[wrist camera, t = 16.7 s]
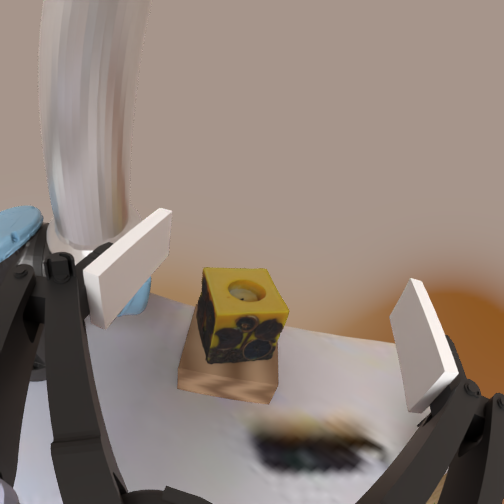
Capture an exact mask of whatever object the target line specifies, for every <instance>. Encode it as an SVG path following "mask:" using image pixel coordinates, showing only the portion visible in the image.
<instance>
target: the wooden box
mask: <svg viewBox="0 0 504 504" xmlns="http://www.w3.org/2000/svg"><path fill="white" fill-rule="evenodd" d="M197 306H198V305H196V307H195V310H194V314H193V317H192V321H191V324H190V328H189V331H188V335H187V338H186V342H185V345H184V349H183V352H182V356H181V360H180V363H179V367H178V386H177V389H181V390H185V391H190V392H195V393H200V394H205V395H210V396H216V397H221V398H227V399H233V400H240V401H247V402H254V403H261V404H269V403H270V401H271V399H272V397H273V395H274V393H275V391H276V389H277V387H278V343H276V349H275V351H274V353H273V357H272V358H271V359H269V360H256V361H246V362H238V363H231V362H230V363H222V364H219V363H213V364H208V363H207V361H206V360H205V359H206V355H205V352H204V348H203V347H202V343H201V341H202V340H201V338H200V334H199V330H198V324H197V319H196V314H197V308H198V307H197Z"/></svg>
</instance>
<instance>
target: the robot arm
mask: <svg viewBox="0 0 504 504" xmlns="http://www.w3.org/2000/svg"><path fill="white" fill-rule="evenodd" d="M151 4H152V0H43V7H42V15H41V25H40V38H39V56H38V94H39V95H38V96H39V115H40V129H41V139H42V149H43V157H44V164H45V171H46V177H47V183H48V189H49V194H50V200H51V205H52V210H53V214H54V216H53V217H52V219H51V221H50V223H43V216H42V215H41V212H40V210H39V209H37V208H35V207H33V206H18V207H14V208H10V209H7V210H4V211H1V212H0V504H20V503H19V499H18V496H17V494H16V492H15V491H14V489H13V486H14V481H15V477H16V471H17V463H18V452H19V442H20V434H21V426H22V419H23V413H24V407H25V401H26V396H27V391H28V386H29V381H43V380H47V391H48V401H49V410H50V417H51V424H52V430H53V437H54V441H53V442H52V443H51V455H52V460H53V465H54V470H55V474H56V478H57V482H58V486H59V490H60V494H61V497H62V501H63V504H212V503H210V502H208V501H207V500H205V499H203V498H201V497H198V496H195V495H192V494H189V493H186V492H183V491H180V490H177V489H174V488H171V487H169V486H166V488H165V490H164V491H161V490H139V491H133V492H129V493H128V490H127V488H126V485H125V483H124V480H123V478H122V475H121V473H120V471H119V468H118V466H117V463H116V460H115V457H114V454H113V451H112V448H111V444H110V441H109V438H108V434H107V431H106V427H105V423H104V419H103V416H102V412H101V408H100V403H99V399H98V395H97V390H96V386H95V381H94V376H93V371H92V365H91V359H90V354H89V347H88V341H87V334H86V326H85V321H84V319H85V318H86V317H87V316H88V314H90V319H91V324H93V325H96V326H98V327H100V328H102V329H104V330H106V329H107V328H108V327H109V325H110V324H111V323H112V322H113V320H114V319H115V318H116V317H120V316H122V315H137V314H140V313H141V312H143V311H144V309H145V308H146V306H147V303H148V299H149V293H150V287H151V275H152V274H153V273H154V272H155V270H156V269H157V268H158V267H159V266H160V265H161V263H162V262H163V261H164V260H165V259H166V258H167V257H168V255H169V245H170V233H171V221H172V211H170V210H166V209H162V208H159V209H158V210H156V211H155V212H154V213H153V214H151V215H150V216H148V217H147V218H146V219H144V220H143V221H142V219H141V216H140V214H139V212H138V211H137V210H136V208H135V207H133V206H132V205H131V204H130V174H131V150H132V136H133V123H134V111H135V101H136V92H137V84H138V77H139V69H140V63H141V56H142V50H143V44H144V39H145V33H146V28H147V23H148V18H149V13H150V8H151ZM390 322H391V326H392V330H393V334H394V339H395V344H396V348H397V353H398V358H399V363H400V368H401V373H402V378H403V384H404V390H405V396H406V402H407V409H408V412H413V413H422V412H423V411H425V410H426V408H427V407H428V406H429V405H430V409H431V413H430V414H429V415H428V416H427V417H426V418H425V419H423V420H422V421H421V422H420V423H419V424H418V425H417V426H418V427H419V426H420V427H419V428H418V430H417V431H416V432H415V434H414V435H413V437H412V438H411V439H410V441H409V442H408V443H407V445H406V446H405V447H404V449H403V450H402V451H401V453H400V454H399V455H398V456H397V458H396V459H395V460H394V461H393V463H392V464H391V465H390V466H389V467H388V469H387V470H386V471H385V472H384V473H383V474H382V476H381V477H380V478H379V479H378V480H377V481H376V482H375V483H374V485H373V486H372V487H371V488H370V489H369V490H368V491H367V492H366V493H365V494H364V495H363V496H362V497H361V498H360V499H359V500H358V501H357V502H356V503H355V504H426V503H427V501H428V500H429V498H430V497H431V495H432V494H433V492H434V490H435V489H436V487H437V486H438V484H439V482H440V481H441V479H442V477H443V476H444V474H445V472H446V470H447V469H448V467H449V469H448V472H447V475H446V479H445V482H444V485H443V488H442V491H441V494H440V497H439V500H438V503H437V504H502V500H503V496H504V395H503V394H501V393H496V394H495V395H494V396H493V397H492V398H491V399H488V398H486V397H484V396H481V392H480V389H479V387H478V386H477V384H476V383H475V382H473V381H472V380H470V379H467V378H466V376H465V372H464V370H463V367H462V364H461V361H460V359H459V356H458V354H457V353H456V352H457V351H456V348H455V346H454V343H453V342H452V340H451V339H450V338H449V336H448V335H445V334H444V332H443V329H442V327H441V324H440V322H439V319H438V317H437V314H436V312H435V310H434V307H433V305H432V303H431V301H430V299H429V296H428V294H427V292H426V290H425V288H424V286H423V283H422V281H419V280H415V279H412V278H410V280H409V282H408V284H407V286H406V287H405V289H404V291H403V293H402V295H401V297H400V299H399V300H398V302H397V304H396V306H395V308H394V309H393V311H392V313H391V315H390Z"/></svg>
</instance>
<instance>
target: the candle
mask: <svg viewBox="0 0 504 504" xmlns="http://www.w3.org/2000/svg"><path fill="white" fill-rule="evenodd" d="M197 307H198V308H197V314H196V319H197V324H198V330H199V334H200V338H201V340H202V341H201V343H202V347H203V348H204V352H205V355H206V359H205V360H206V361H207V363H208V364H213V363H219V364H222V363H230V362H231V363H238V362H246V361H256V360H269V359H271V358H272V357H273V353H274V351H275V349H276V343H277V341H278V338H279V336H280V333H281V332H282V330H283V328H284V325H285V323H286V320H287V318H288V314H289V309H288V307H287V305H286V304H285V302H284V300H283V299H282V297H281V296H280V294H279V292H278V290H277V289H276V287H275V285H274V283H273V281H272V279H271V277H270V275H269V273H268V271H267V269H263V268H259V269H246V268H242V269H241V268H240V269H238V268H236V269H235V268H209V267H206V268H204V269H203V277H202V292H201V295H200V297H199V300H198V306H197Z"/></svg>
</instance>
